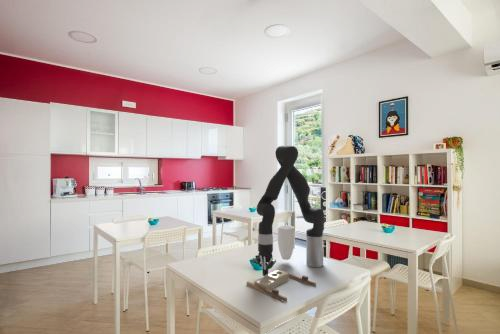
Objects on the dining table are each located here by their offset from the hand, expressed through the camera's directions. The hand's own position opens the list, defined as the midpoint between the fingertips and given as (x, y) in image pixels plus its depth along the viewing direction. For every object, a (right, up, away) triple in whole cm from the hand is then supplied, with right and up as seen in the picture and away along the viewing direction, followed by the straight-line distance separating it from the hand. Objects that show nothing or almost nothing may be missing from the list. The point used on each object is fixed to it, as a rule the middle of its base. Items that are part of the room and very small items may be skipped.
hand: (265, 276), depth 143 cm
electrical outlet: (+3, -2, -5) cm, 6 cm away
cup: (+14, -2, +24) cm, 27 cm away
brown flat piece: (+7, -2, -7) cm, 10 cm away
